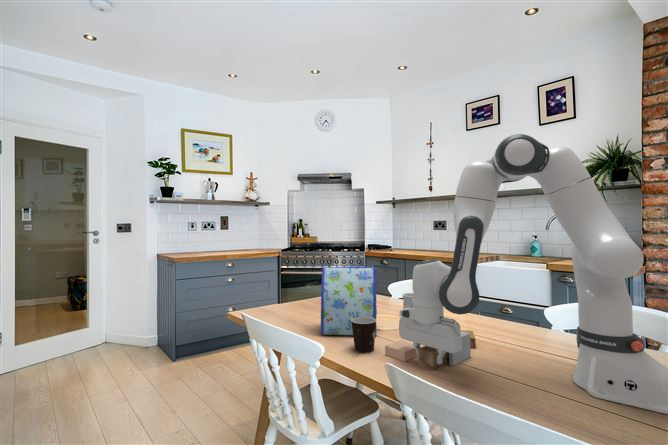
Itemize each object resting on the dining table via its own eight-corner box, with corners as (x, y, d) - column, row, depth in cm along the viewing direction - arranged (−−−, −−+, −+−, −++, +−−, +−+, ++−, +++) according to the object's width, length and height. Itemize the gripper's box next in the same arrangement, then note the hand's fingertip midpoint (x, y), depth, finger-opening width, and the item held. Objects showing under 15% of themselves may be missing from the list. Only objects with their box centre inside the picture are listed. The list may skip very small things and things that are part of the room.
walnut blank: (457, 358, 111) (457, 342, 111) (432, 370, 103) (432, 352, 103) (443, 354, 115) (443, 339, 115) (418, 365, 107) (418, 348, 107)
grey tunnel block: (470, 357, 112) (470, 333, 112) (452, 365, 106) (452, 340, 106) (444, 349, 119) (444, 327, 119) (426, 357, 113) (425, 333, 113)
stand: (420, 355, 115) (420, 346, 115) (404, 361, 110) (404, 352, 110) (401, 349, 121) (400, 340, 121) (385, 354, 116) (384, 345, 116)
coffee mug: (363, 343, 127) (362, 315, 127) (382, 349, 121) (381, 319, 121) (340, 352, 119) (339, 322, 119) (359, 358, 113) (358, 327, 113)
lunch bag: (377, 325, 150) (376, 263, 150) (378, 338, 133) (376, 268, 133) (325, 325, 152) (323, 264, 152) (319, 337, 135) (318, 269, 136)
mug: (402, 313, 168) (401, 292, 168) (422, 314, 167) (421, 292, 167) (403, 320, 156) (403, 298, 156) (425, 321, 155) (424, 298, 155)
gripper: (465, 318, 100) (467, 367, 100) (408, 306, 116) (409, 349, 116) (453, 322, 96) (454, 374, 96) (395, 309, 112) (396, 353, 112)
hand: (429, 360), depth 106 cm, fingers open, 5 cm apart
